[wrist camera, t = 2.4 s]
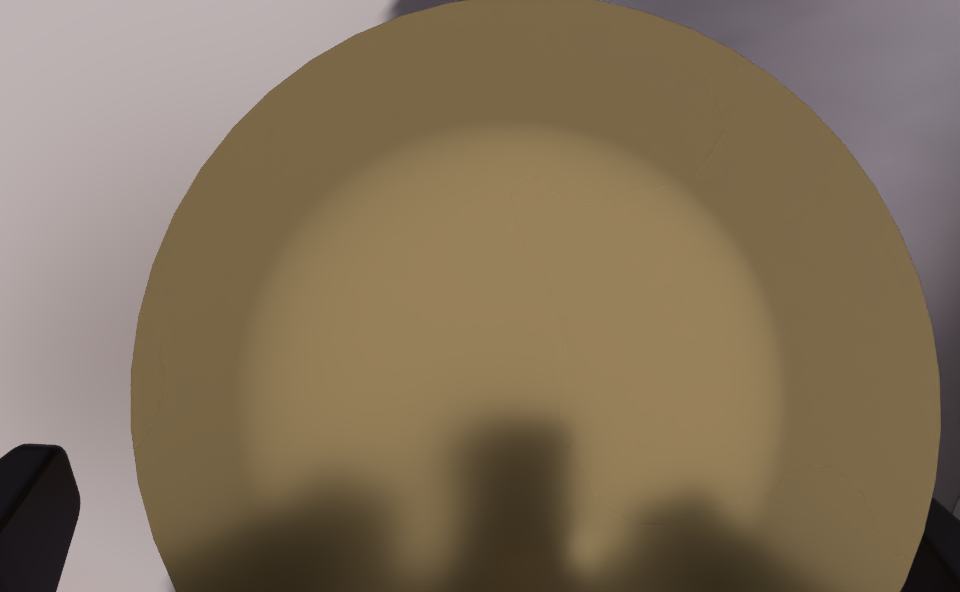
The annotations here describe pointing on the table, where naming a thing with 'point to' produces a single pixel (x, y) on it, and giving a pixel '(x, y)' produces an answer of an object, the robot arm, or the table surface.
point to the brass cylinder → (534, 326)
